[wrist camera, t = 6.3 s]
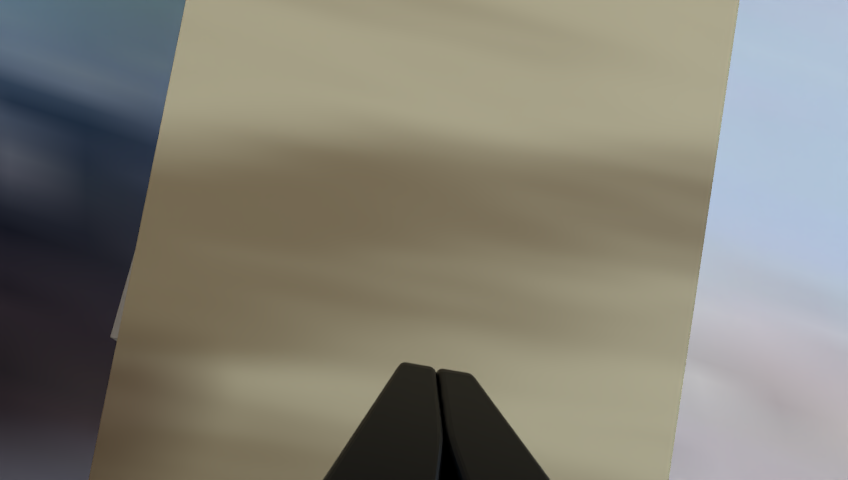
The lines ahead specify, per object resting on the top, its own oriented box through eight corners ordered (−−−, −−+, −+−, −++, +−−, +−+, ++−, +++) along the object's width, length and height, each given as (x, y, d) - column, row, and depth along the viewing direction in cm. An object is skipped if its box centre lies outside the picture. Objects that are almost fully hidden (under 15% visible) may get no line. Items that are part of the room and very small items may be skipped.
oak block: (656, 564, 12) (767, -189, 12) (87, 485, 11) (250, -323, 11) (562, 476, 16) (646, -57, 17) (169, 417, 16) (279, -142, 16)
